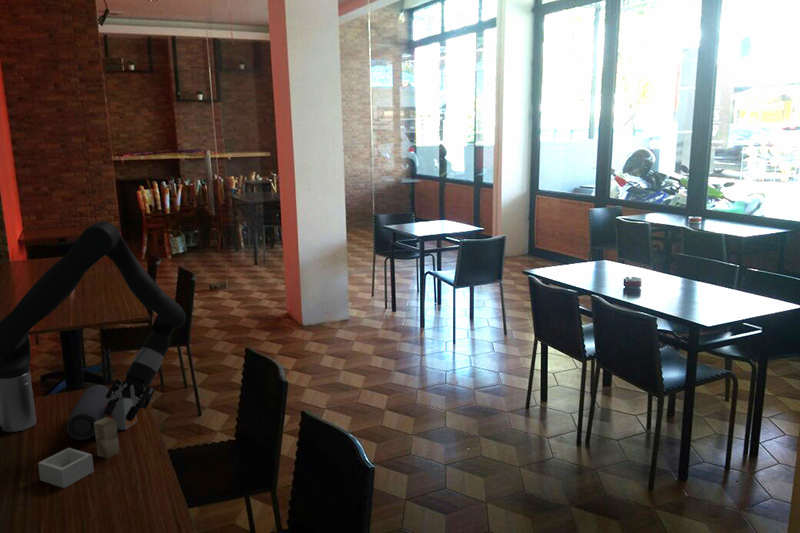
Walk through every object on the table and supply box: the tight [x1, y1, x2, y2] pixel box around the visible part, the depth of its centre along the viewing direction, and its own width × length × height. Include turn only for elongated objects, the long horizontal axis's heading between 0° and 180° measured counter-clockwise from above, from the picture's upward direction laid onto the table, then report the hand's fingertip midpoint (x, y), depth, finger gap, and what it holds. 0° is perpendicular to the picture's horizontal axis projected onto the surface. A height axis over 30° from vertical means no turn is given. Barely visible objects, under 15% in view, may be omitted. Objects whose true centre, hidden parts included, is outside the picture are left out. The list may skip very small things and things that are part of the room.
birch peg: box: [94, 416, 120, 460], centre depth 178 cm, size 4×4×10 cm
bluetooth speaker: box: [66, 384, 110, 441], centre depth 194 cm, size 23×9×10 cm, turn 14°
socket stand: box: [37, 447, 95, 489], centre depth 167 cm, size 9×9×5 cm
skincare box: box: [111, 392, 138, 431], centre depth 195 cm, size 6×4×12 cm
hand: (117, 417), depth 180 cm, fingers open, 8 cm apart
